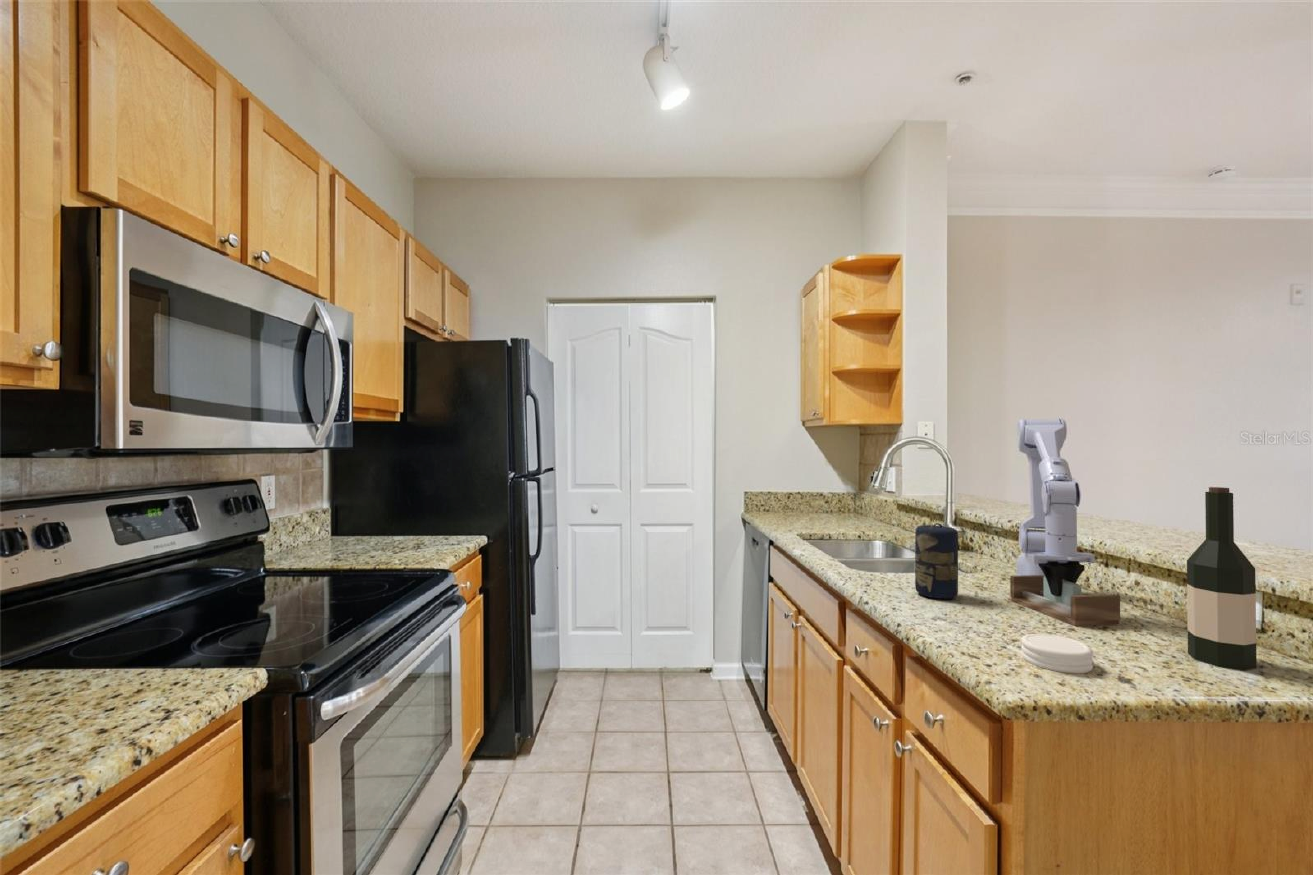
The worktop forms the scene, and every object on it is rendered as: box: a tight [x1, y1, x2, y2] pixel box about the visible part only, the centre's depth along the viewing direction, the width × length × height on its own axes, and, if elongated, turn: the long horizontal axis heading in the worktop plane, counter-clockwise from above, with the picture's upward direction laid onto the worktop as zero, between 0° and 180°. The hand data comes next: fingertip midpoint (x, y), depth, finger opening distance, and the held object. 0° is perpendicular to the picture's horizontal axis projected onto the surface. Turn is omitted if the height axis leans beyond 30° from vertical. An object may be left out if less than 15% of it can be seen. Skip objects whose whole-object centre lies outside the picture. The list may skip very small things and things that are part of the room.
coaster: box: [1020, 633, 1094, 674], centre depth 95 cm, size 10×10×4 cm
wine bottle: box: [1186, 486, 1258, 671], centre depth 95 cm, size 8×8×30 cm
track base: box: [1009, 575, 1121, 627], centre depth 123 cm, size 18×10×6 cm, turn 5°
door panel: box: [1043, 577, 1082, 607], centre depth 122 cm, size 8×2×6 cm, turn 5°
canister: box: [914, 522, 959, 599], centre depth 136 cm, size 10×10×18 cm
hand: (1061, 595), depth 123 cm, fingers closed on door panel, 2 cm apart
